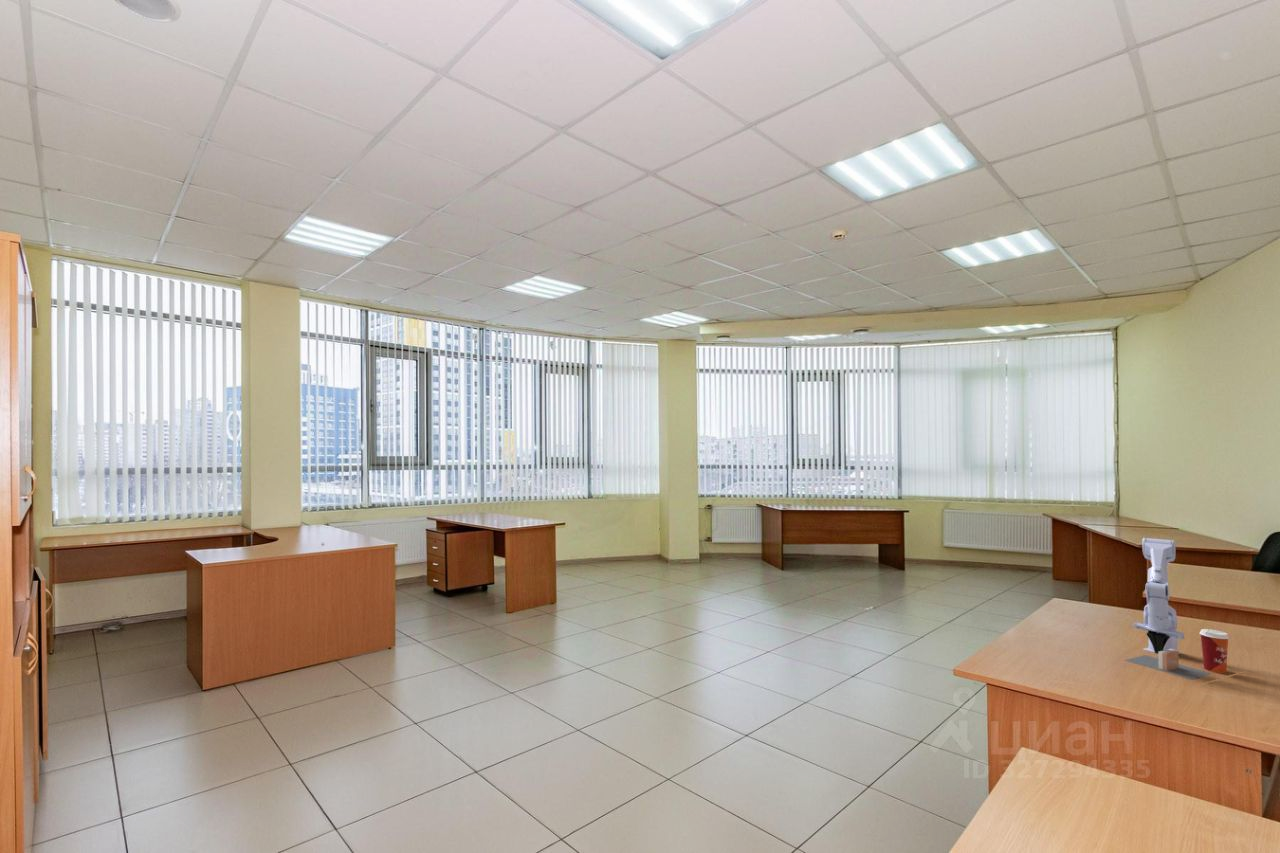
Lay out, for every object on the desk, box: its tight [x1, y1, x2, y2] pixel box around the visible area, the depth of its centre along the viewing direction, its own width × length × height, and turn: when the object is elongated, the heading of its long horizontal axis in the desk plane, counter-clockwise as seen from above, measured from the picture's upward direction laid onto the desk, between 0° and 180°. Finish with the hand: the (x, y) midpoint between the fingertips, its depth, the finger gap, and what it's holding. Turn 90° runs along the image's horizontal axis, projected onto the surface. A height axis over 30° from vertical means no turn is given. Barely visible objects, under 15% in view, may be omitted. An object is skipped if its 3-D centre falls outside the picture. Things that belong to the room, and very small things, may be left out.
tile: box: [1157, 649, 1180, 671], centre depth 213 cm, size 8×2×6 cm, turn 114°
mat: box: [1124, 654, 1213, 681], centre depth 214 cm, size 14×20×1 cm
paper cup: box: [1199, 628, 1230, 674], centre depth 212 cm, size 8×8×14 cm
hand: (1158, 653), depth 216 cm, fingers closed
